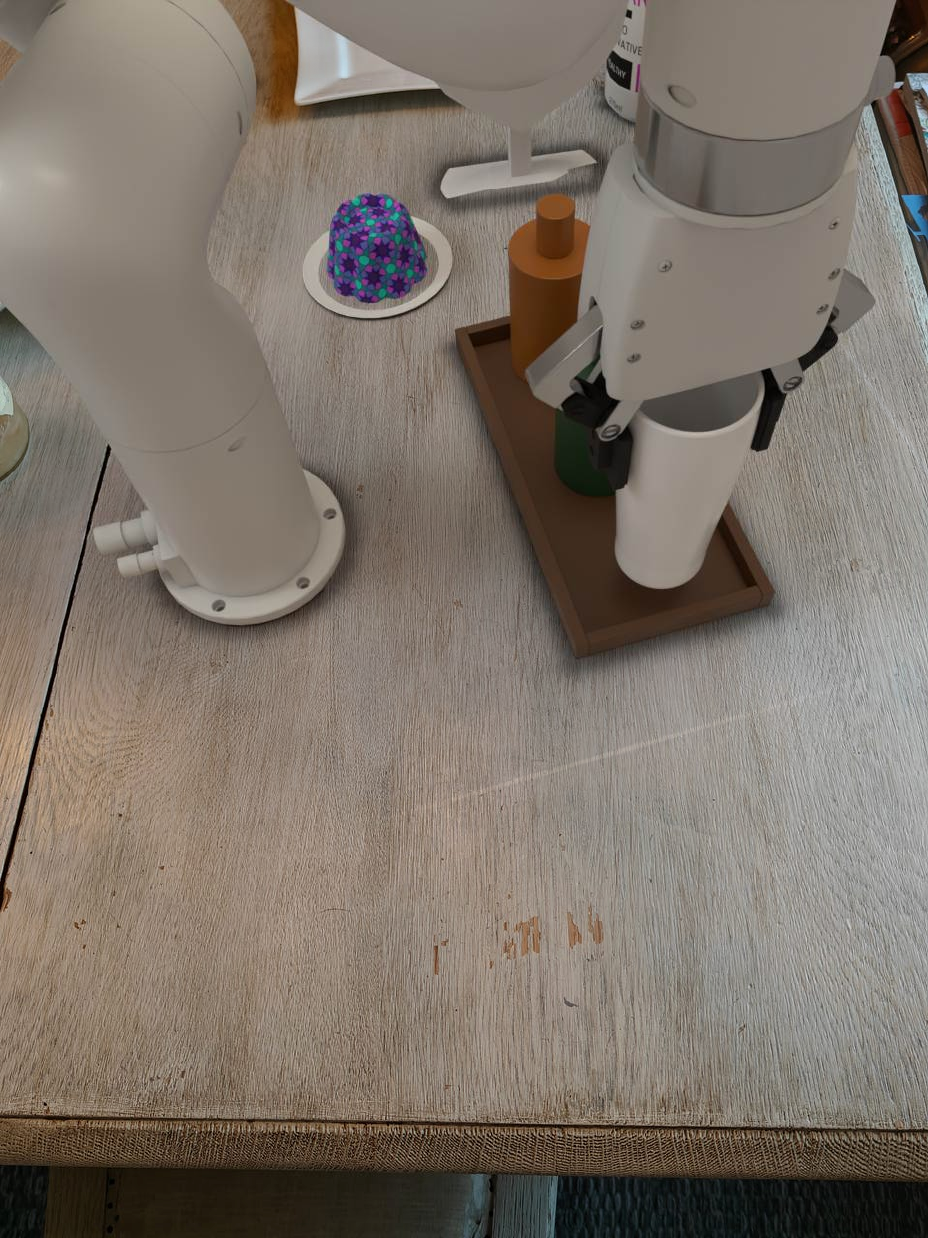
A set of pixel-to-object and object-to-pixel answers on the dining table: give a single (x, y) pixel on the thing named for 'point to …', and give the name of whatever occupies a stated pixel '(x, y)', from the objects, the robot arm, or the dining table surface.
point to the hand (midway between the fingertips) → (679, 447)
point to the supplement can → (626, 63)
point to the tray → (593, 522)
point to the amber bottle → (545, 278)
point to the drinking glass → (683, 477)
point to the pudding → (375, 256)
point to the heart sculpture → (528, 122)
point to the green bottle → (577, 453)
